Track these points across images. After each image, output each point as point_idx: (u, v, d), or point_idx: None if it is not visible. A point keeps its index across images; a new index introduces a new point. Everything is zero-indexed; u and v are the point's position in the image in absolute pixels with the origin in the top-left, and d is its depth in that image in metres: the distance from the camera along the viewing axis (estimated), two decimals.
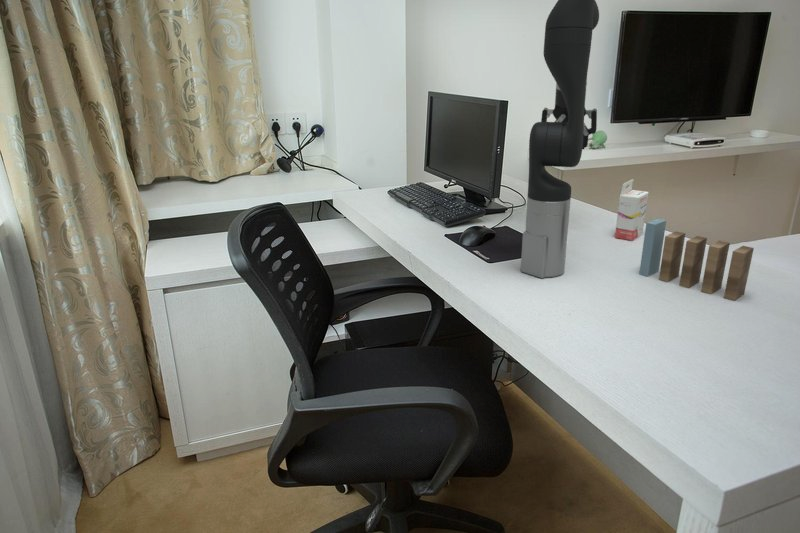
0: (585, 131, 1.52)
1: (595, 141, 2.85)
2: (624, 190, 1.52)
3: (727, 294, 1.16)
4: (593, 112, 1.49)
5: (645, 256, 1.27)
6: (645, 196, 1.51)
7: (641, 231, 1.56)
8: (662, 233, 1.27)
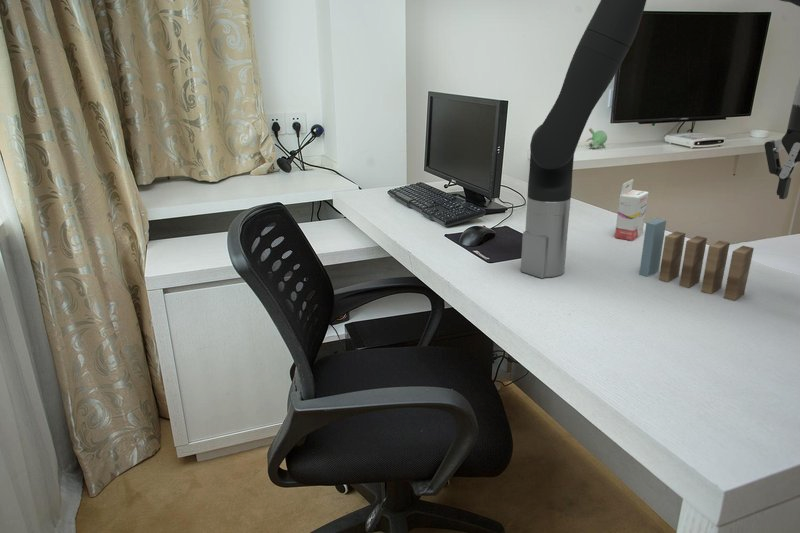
0: None
1: (595, 141, 2.85)
2: (624, 190, 1.52)
3: (727, 294, 1.16)
4: None
5: (645, 256, 1.27)
6: (645, 196, 1.51)
7: (641, 231, 1.56)
8: (662, 233, 1.27)
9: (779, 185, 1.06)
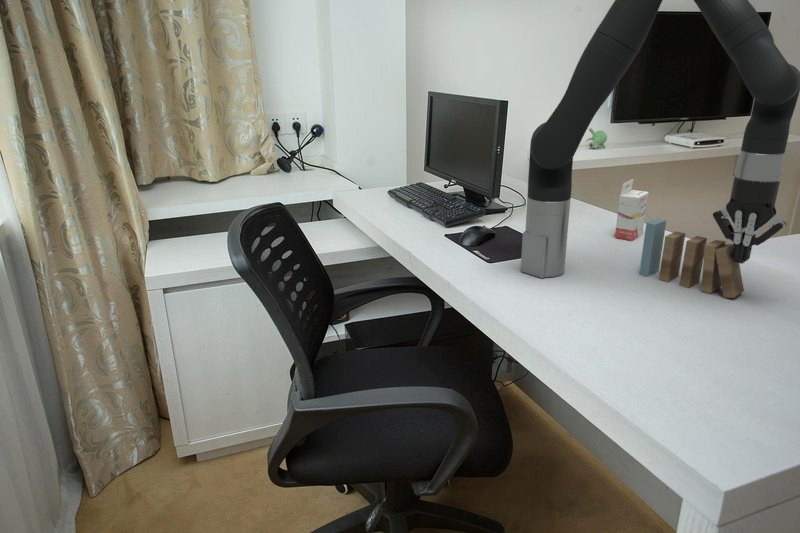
0: (745, 240, 1.12)
1: (595, 141, 2.85)
2: (624, 190, 1.52)
3: (725, 293, 1.16)
4: (778, 225, 1.07)
5: (645, 256, 1.27)
6: (645, 196, 1.51)
7: (641, 231, 1.56)
8: (662, 233, 1.27)
9: (734, 249, 1.15)
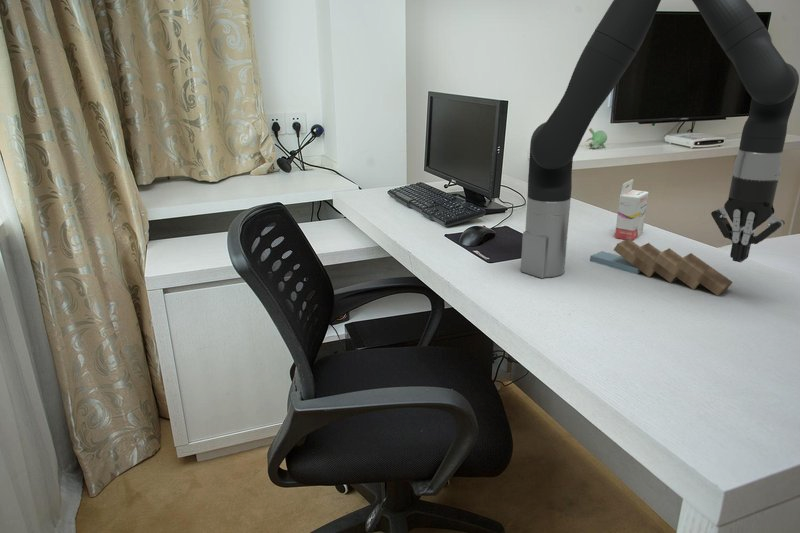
0: (744, 239, 1.12)
1: (595, 141, 2.85)
2: (624, 190, 1.52)
3: (715, 291, 1.18)
4: (776, 224, 1.07)
5: (619, 268, 1.33)
6: (645, 196, 1.51)
7: (641, 231, 1.56)
8: (610, 254, 1.38)
9: (732, 248, 1.15)
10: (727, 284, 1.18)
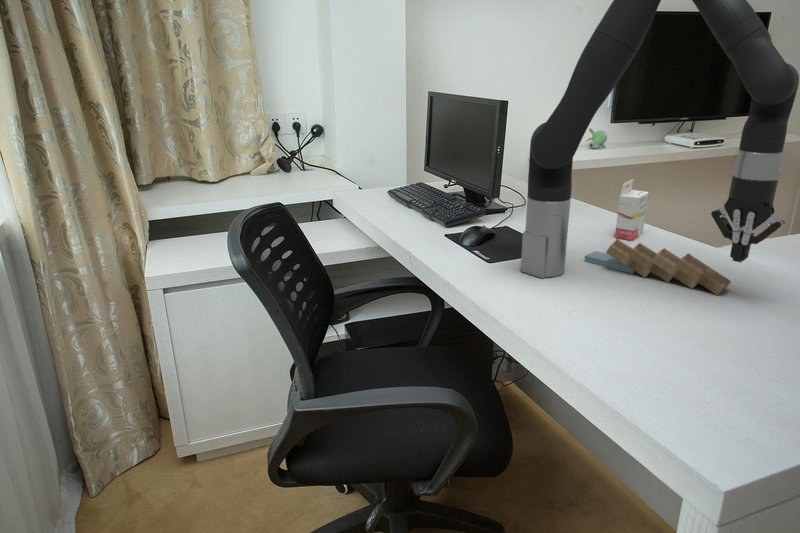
0: (744, 239, 1.12)
1: (595, 141, 2.85)
2: (624, 190, 1.52)
3: (715, 290, 1.18)
4: (776, 224, 1.07)
5: (614, 268, 1.33)
6: (645, 196, 1.51)
7: (641, 231, 1.56)
8: (604, 254, 1.38)
9: (732, 248, 1.15)
10: (726, 283, 1.19)
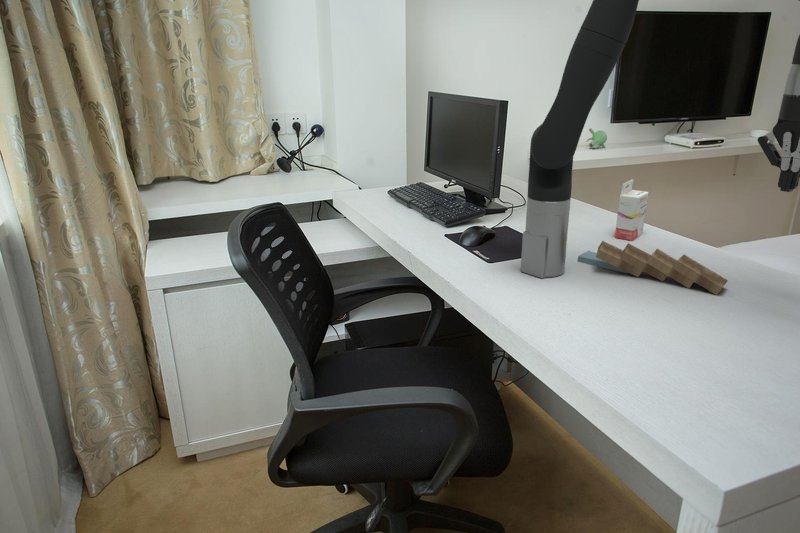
0: (794, 165, 1.03)
1: (595, 141, 2.85)
2: (624, 190, 1.52)
3: (713, 290, 1.18)
4: None
5: (608, 268, 1.33)
6: (645, 196, 1.51)
7: (641, 231, 1.56)
8: None
9: (780, 177, 1.05)
10: (724, 283, 1.19)
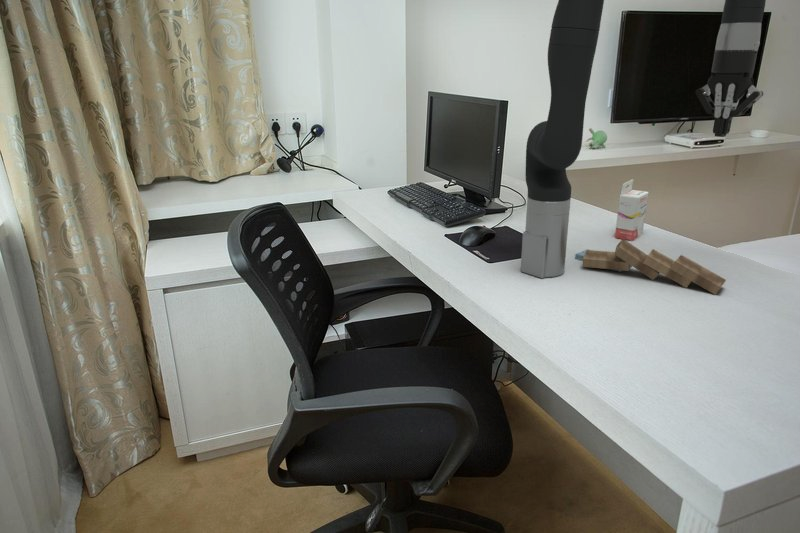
0: (725, 112, 1.18)
1: (595, 141, 2.85)
2: (624, 190, 1.52)
3: (712, 290, 1.18)
4: (755, 93, 1.13)
5: None
6: (645, 196, 1.51)
7: (641, 231, 1.56)
8: None
9: (715, 124, 1.21)
10: (722, 282, 1.19)
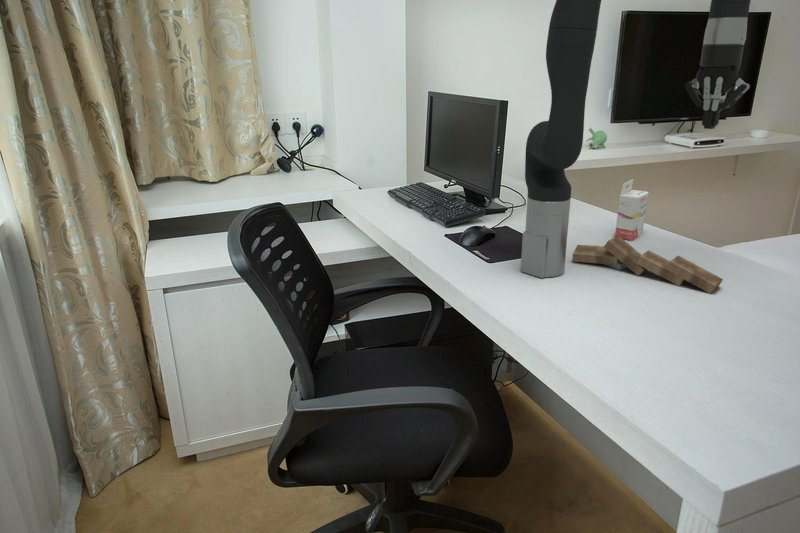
0: (714, 105, 1.22)
1: (595, 141, 2.85)
2: (624, 190, 1.52)
3: (707, 289, 1.19)
4: (742, 86, 1.17)
5: (604, 264, 1.36)
6: (645, 196, 1.51)
7: (641, 231, 1.56)
8: None
9: (704, 116, 1.24)
10: (718, 281, 1.20)
